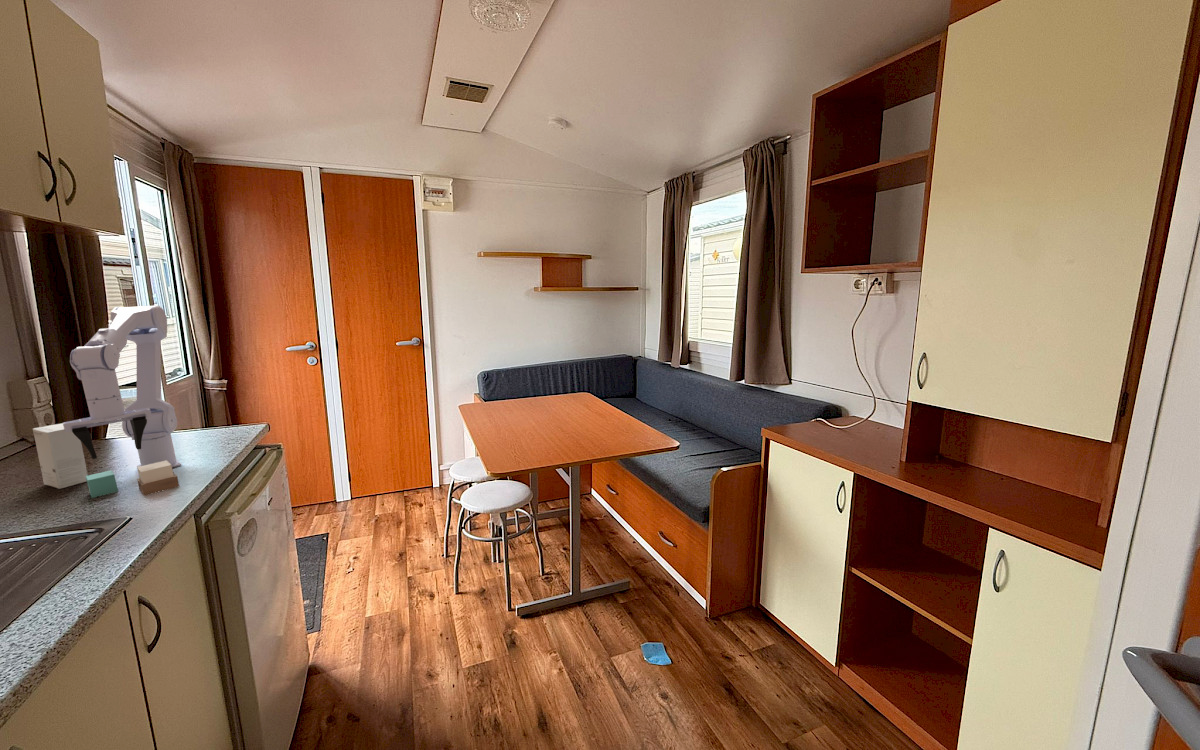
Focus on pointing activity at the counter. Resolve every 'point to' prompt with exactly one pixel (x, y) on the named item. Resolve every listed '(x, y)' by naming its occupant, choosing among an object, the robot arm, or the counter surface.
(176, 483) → the walnut base slab
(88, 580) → the counter surface
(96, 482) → the teal block
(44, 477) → the skincare box
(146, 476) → the cream middle slab
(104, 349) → the robot arm
